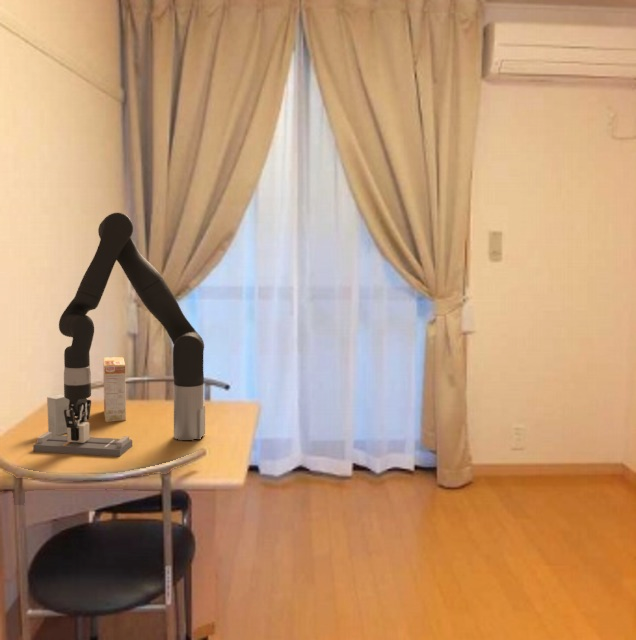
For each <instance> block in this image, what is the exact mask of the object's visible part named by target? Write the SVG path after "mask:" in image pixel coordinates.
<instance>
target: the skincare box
mask: <svg viewBox="0 0 636 640" xmlns="http://www.w3.org/2000/svg"><path fill="white" fill-rule="evenodd" d="M46 401H47V403H46V405H47V424H48V425H47V427H48V428H47V429H48V431H47V432H52V435H59V436H63V435H64V434H67V426H66V421H65V416H64V410H68V409H69V399H66V398H65V397H64V393H60V394H56V395H52V396H51V395H50V396H48V397H47V398H46ZM69 423H70V421H69Z"/></svg>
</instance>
